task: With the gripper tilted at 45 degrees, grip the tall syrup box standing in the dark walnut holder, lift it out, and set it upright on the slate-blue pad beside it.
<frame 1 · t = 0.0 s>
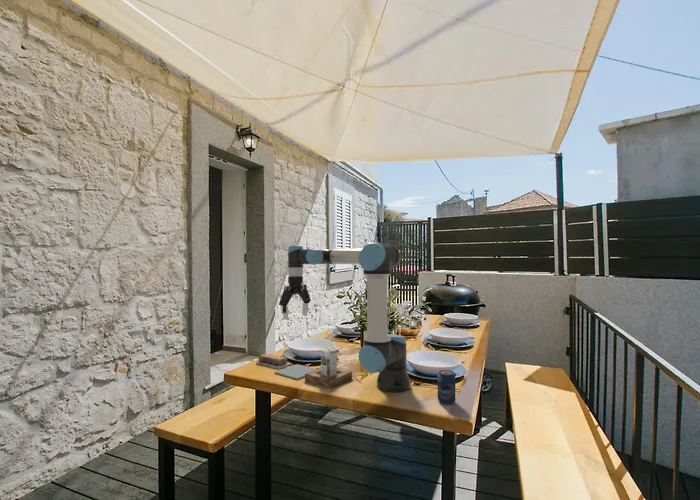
hand: (295, 317, 177), 28 cm above the table, tool pointing down, fingers open, 13 cm apart
soda can: (446, 402, 141), on the table
walnut holder: (328, 379, 167), on the table
syrup box: (328, 380, 167), resting in walnut holder
packaged product: (273, 365, 191), on the table
slate pad: (297, 372, 178), on the table
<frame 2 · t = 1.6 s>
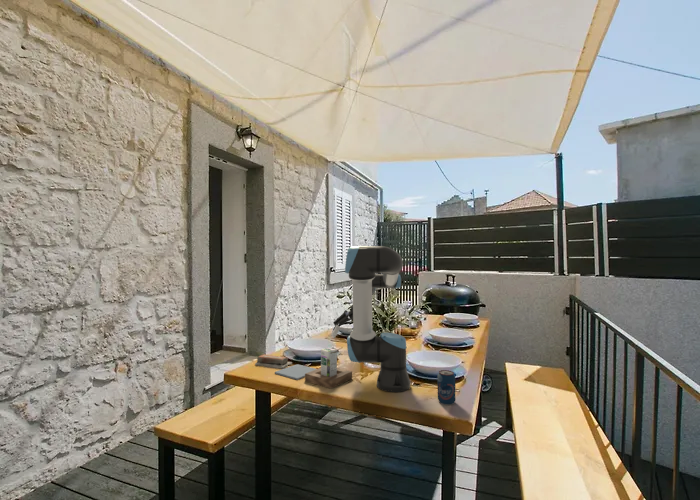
hand: (343, 338, 176), 18 cm above the table, tool tilted 45°, fingers open, 13 cm apart
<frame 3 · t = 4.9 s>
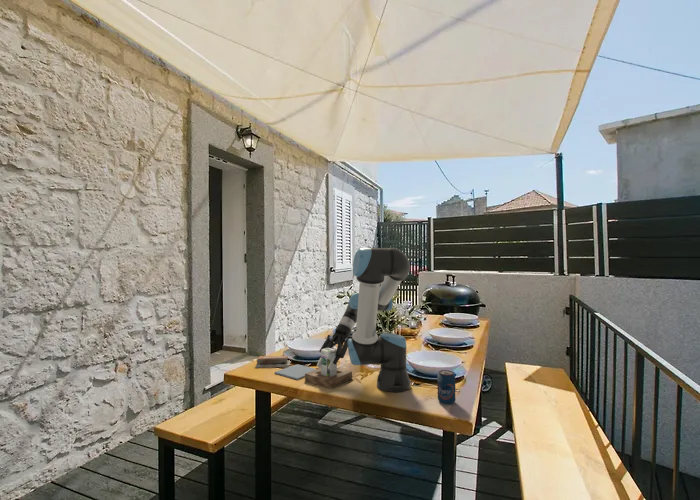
hand: (323, 368, 164), 6 cm above the table, tool tilted 45°, fingers closed on syrup box, 6 cm apart
syrup box: (328, 380, 167), resting in walnut holder, touching gripper
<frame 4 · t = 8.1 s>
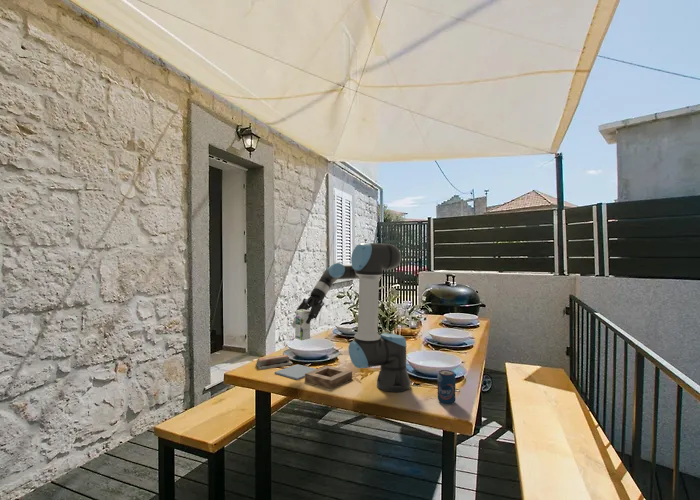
hand: (297, 327, 175), 23 cm above the table, tool tilted 45°, fingers closed on syrup box, 6 cm apart
syrup box: (302, 339, 178), point 17 cm above the table, touching gripper
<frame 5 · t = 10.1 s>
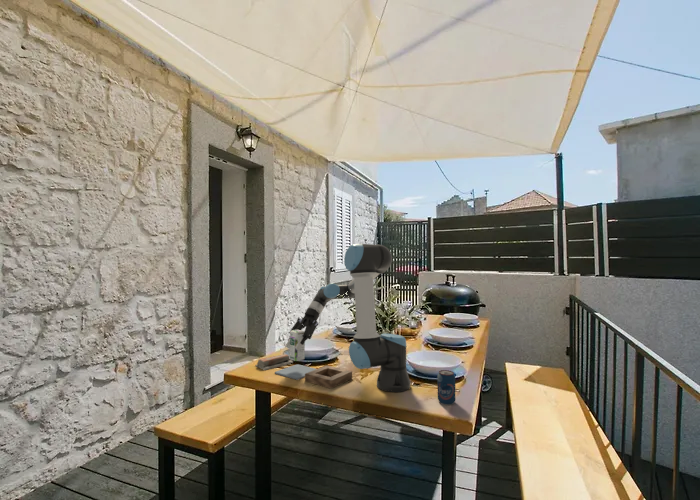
hand: (292, 348, 176), 13 cm above the table, tool tilted 45°, fingers closed on syrup box, 6 cm apart
syrup box: (297, 359, 178), point 6 cm above the table, touching gripper
when the fingers open (9 cm above the table, at t = 11.7 s): syrup box drops 2 cm, resting on slate pad.
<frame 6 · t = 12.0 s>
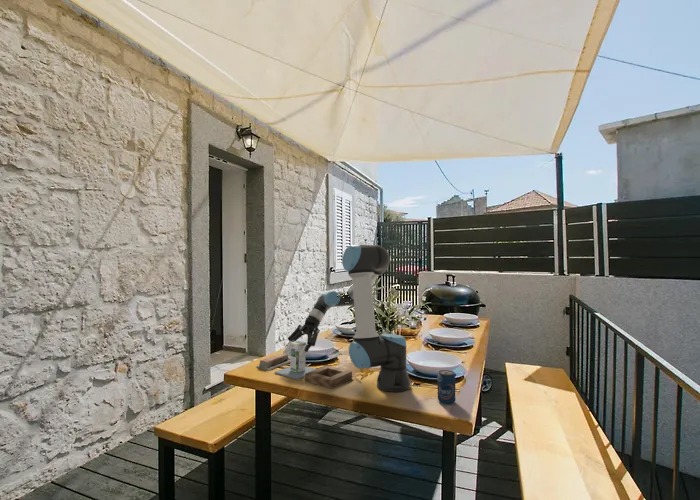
hand: (293, 354, 175), 10 cm above the table, tool tilted 45°, fingers open, 10 cm apart
syrup box: (297, 371, 178), point 1 cm above the table, touching slate pad
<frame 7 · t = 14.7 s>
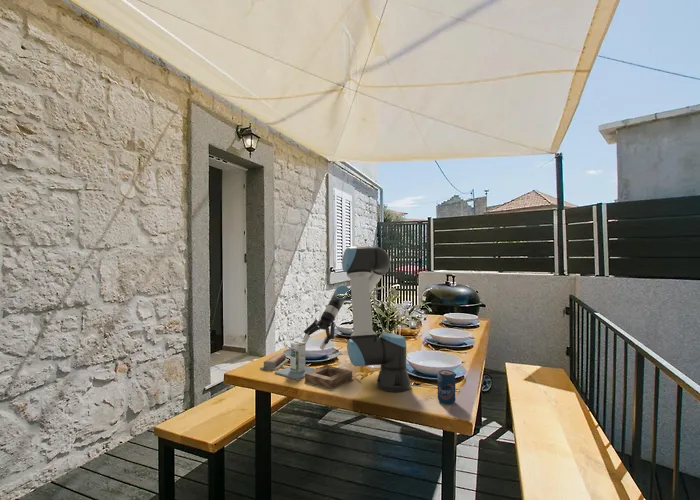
hand: (311, 347, 187), 11 cm above the table, tool tilted 45°, fingers open, 13 cm apart
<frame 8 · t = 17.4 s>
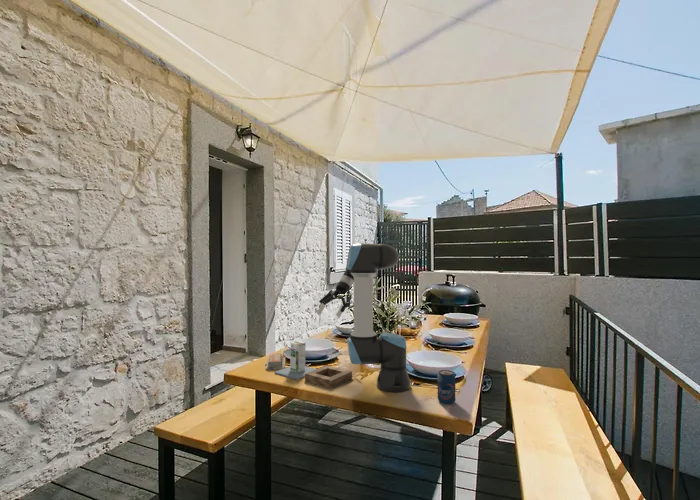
hand: (327, 315, 187), 28 cm above the table, tool tilted 45°, fingers open, 13 cm apart
at the end: syrup box inside the target area on the slate pad (0.3 cm from its centre), point 0.6 cm above the slate pad's base; syrup box tilted 0°; the gripper is holding nothing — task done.
